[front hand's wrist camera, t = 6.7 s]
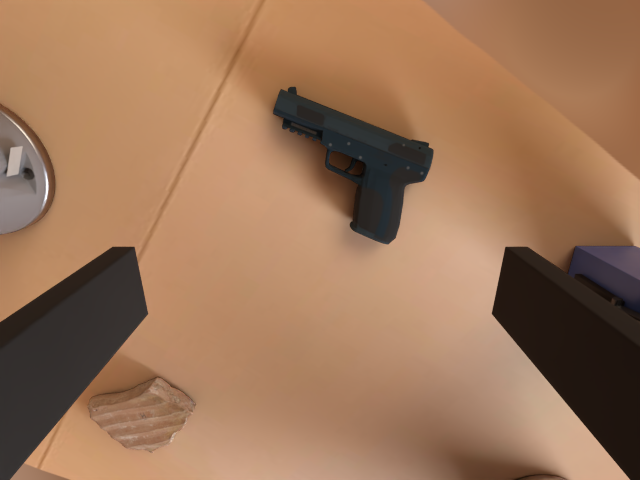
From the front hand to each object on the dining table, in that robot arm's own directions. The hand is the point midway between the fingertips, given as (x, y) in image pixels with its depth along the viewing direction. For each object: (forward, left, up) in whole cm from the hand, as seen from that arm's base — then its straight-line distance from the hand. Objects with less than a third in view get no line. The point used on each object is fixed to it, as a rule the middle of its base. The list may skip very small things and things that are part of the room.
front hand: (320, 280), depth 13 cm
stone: (+9, -44, -29) cm, 53 cm away
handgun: (+2, +2, -29) cm, 29 cm away
